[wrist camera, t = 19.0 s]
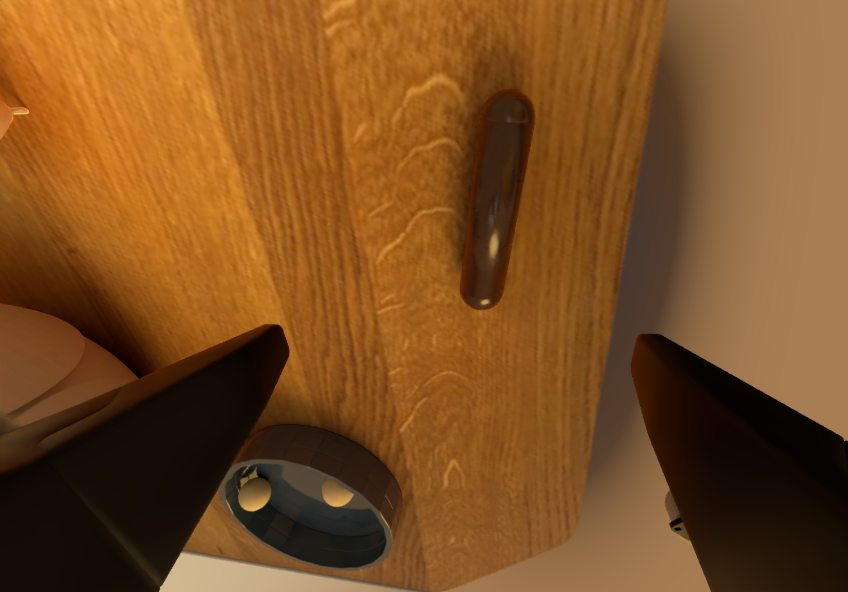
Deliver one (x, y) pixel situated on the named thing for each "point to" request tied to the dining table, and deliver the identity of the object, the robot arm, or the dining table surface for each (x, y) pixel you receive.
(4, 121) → the spinning top
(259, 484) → the dough ball
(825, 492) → the robot arm
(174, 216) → the dining table surface
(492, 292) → the stick
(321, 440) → the round shallow dish
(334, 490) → the dough ball
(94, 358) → the decorative bowl
